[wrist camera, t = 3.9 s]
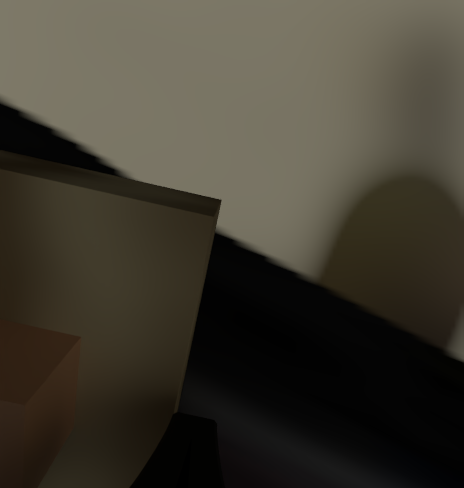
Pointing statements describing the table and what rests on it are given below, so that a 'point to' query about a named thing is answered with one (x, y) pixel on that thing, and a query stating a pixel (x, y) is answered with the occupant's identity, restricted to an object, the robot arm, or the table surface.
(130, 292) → the olive square panel
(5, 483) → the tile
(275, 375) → the table surface
